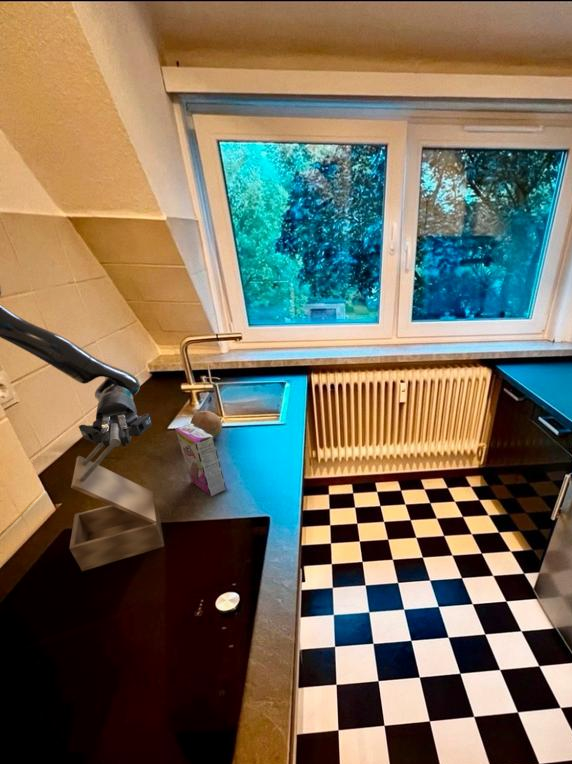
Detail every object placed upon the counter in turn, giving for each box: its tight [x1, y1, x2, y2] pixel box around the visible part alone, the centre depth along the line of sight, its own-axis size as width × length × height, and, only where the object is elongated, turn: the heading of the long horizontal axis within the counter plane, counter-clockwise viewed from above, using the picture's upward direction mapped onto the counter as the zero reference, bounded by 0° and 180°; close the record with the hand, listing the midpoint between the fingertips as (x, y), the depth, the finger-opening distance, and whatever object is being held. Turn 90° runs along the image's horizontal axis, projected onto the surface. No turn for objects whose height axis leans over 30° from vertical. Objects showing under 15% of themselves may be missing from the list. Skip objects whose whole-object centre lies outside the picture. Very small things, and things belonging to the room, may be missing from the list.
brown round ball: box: [190, 410, 223, 440], centre depth 127 cm, size 10×10×10 cm
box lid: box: [70, 423, 156, 524], centre depth 80 cm, size 16×13×12 cm
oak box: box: [68, 497, 165, 572], centre depth 85 cm, size 16×13×6 cm
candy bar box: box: [174, 423, 227, 498], centre depth 101 cm, size 11×5×16 cm, turn 47°
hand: (116, 443), depth 74 cm, fingers closed on box lid, 2 cm apart
